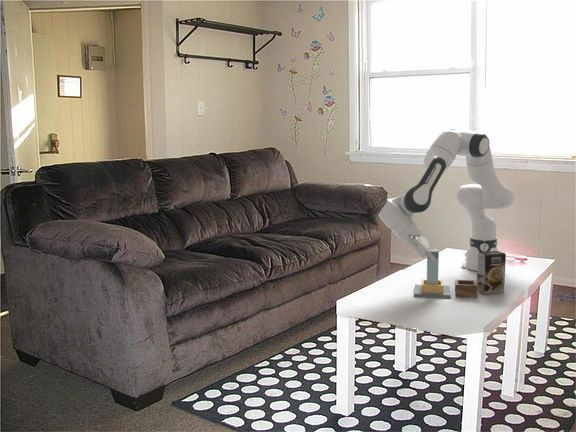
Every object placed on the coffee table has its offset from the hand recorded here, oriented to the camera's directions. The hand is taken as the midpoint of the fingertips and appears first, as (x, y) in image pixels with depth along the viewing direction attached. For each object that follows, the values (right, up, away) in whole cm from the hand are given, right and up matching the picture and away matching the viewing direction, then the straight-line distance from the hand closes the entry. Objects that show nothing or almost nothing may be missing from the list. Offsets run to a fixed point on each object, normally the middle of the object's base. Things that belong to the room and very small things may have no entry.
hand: (434, 258), depth 254 cm
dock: (0, -14, +2) cm, 14 cm away
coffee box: (+23, -14, +2) cm, 27 cm away
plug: (0, -12, +2) cm, 12 cm away
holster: (+12, -15, -1) cm, 19 cm away
